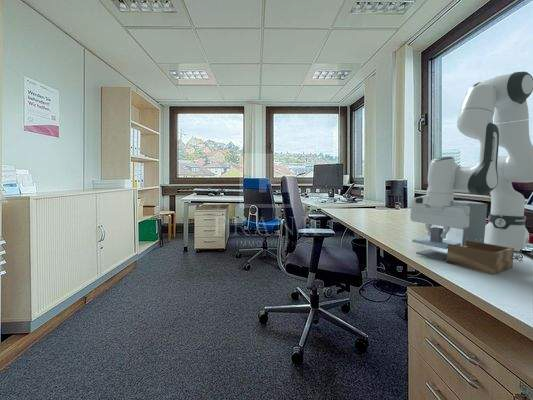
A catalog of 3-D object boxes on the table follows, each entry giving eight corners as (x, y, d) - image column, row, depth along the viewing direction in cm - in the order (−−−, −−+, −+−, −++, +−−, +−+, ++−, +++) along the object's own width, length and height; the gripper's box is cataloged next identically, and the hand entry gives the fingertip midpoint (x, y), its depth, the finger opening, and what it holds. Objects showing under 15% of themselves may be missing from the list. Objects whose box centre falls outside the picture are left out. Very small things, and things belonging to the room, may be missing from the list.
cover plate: (428, 239, 121) (429, 224, 121) (460, 245, 111) (462, 229, 111) (412, 241, 115) (413, 226, 115) (445, 249, 105) (446, 232, 105)
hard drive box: (483, 256, 113) (488, 204, 111) (461, 254, 115) (465, 203, 113) (465, 246, 128) (469, 200, 127) (445, 245, 130) (449, 199, 128)
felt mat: (430, 250, 121) (430, 249, 121) (456, 256, 112) (456, 255, 112) (416, 253, 115) (416, 252, 115) (442, 259, 107) (442, 258, 107)
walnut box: (465, 257, 111) (467, 240, 111) (512, 267, 99) (514, 248, 99) (446, 262, 104) (448, 244, 103) (494, 274, 92) (496, 253, 91)
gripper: (474, 202, 105) (471, 241, 106) (418, 198, 122) (415, 231, 123) (466, 203, 101) (462, 243, 103) (409, 198, 118) (406, 232, 120)
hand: (436, 237), depth 113 cm, fingers closed on cover plate, 3 cm apart
